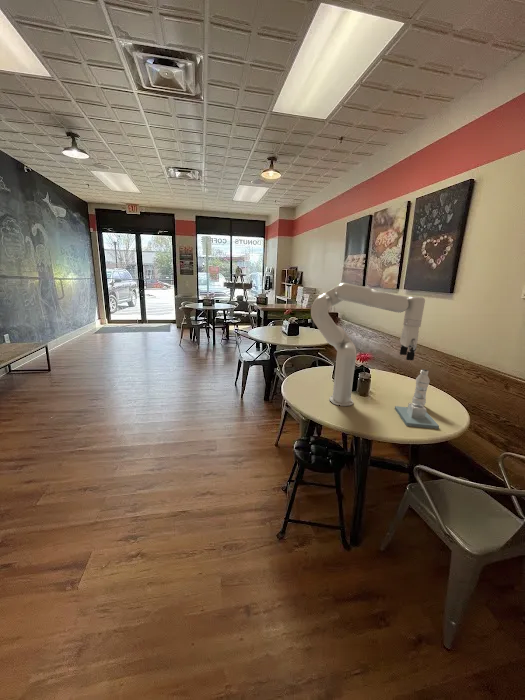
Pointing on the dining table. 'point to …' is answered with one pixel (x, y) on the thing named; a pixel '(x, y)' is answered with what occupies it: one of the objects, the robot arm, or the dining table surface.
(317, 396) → the dining table surface
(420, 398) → the plastic bottle
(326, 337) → the robot arm
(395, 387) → the dining table surface
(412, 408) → the collar
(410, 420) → the base plate
